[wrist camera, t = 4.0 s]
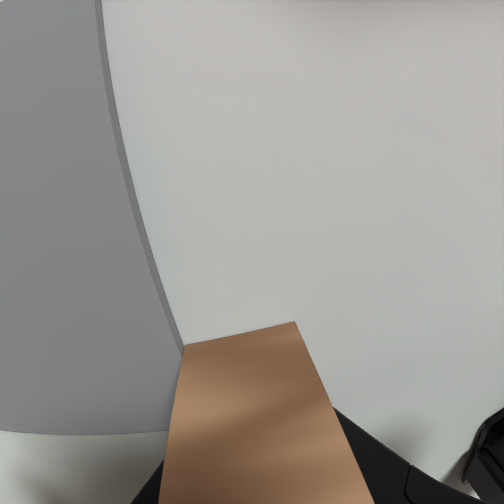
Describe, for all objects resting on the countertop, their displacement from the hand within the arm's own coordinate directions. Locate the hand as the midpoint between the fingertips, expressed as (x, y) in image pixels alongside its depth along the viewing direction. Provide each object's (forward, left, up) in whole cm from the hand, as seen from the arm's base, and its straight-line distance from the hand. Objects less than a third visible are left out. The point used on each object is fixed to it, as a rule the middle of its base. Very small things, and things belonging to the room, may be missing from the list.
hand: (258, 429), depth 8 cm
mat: (+9, -7, -1) cm, 12 cm away
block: (0, 0, -1) cm, 1 cm away
